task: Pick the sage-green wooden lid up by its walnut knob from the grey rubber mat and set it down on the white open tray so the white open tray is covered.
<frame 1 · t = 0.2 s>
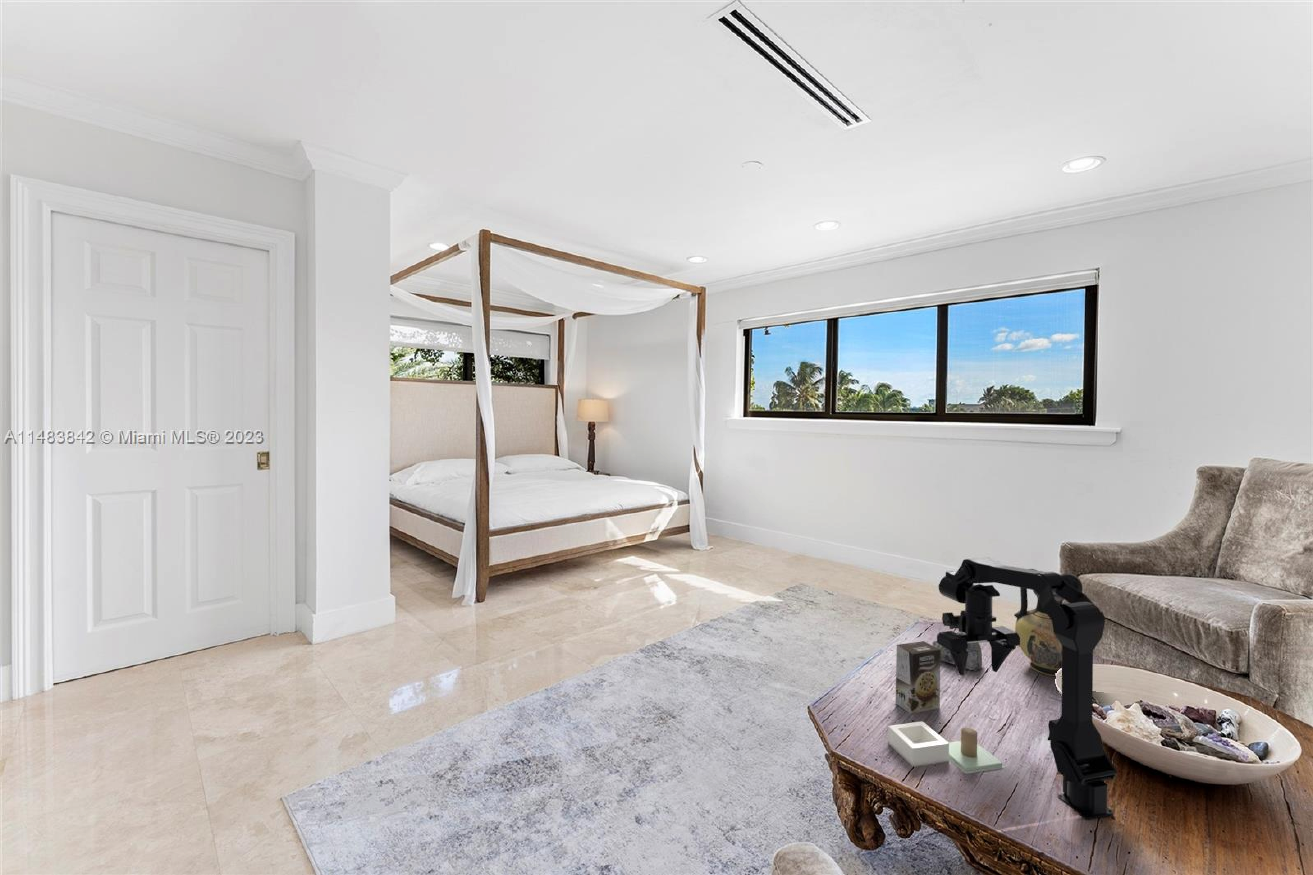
hand: (977, 673, 137), 14 cm above the table, fingers open, 9 cm apart
mat: (968, 758, 126), on the table
lid: (968, 756, 126), resting on mat
white open tray: (917, 753, 129), on the table
coffee box: (917, 707, 149), on the table
amphora: (1048, 670, 168), on the table
mineral rock: (957, 663, 174), on the table
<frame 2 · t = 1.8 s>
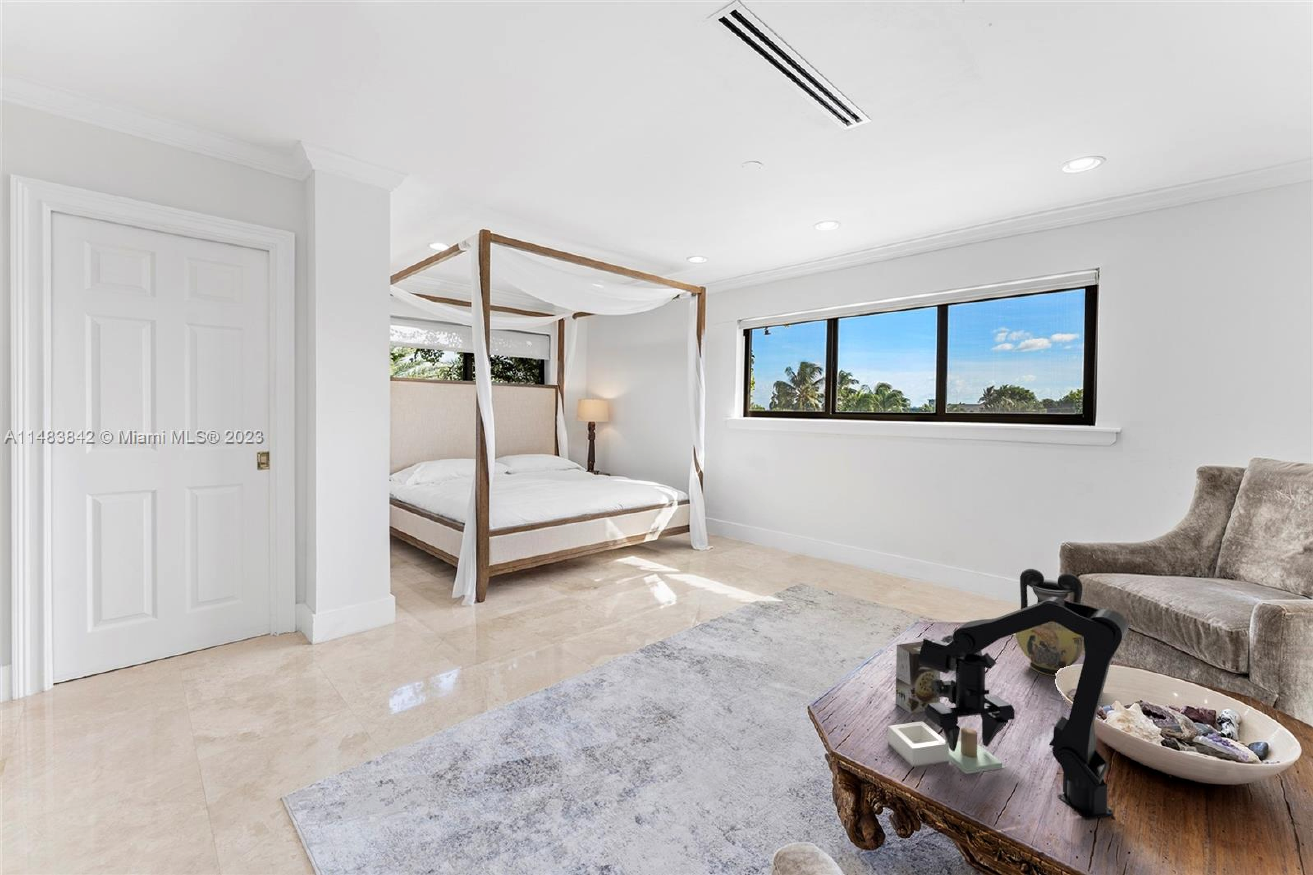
hand: (968, 748, 126), 2 cm above the table, fingers open, 8 cm apart
nothing on the table moved.
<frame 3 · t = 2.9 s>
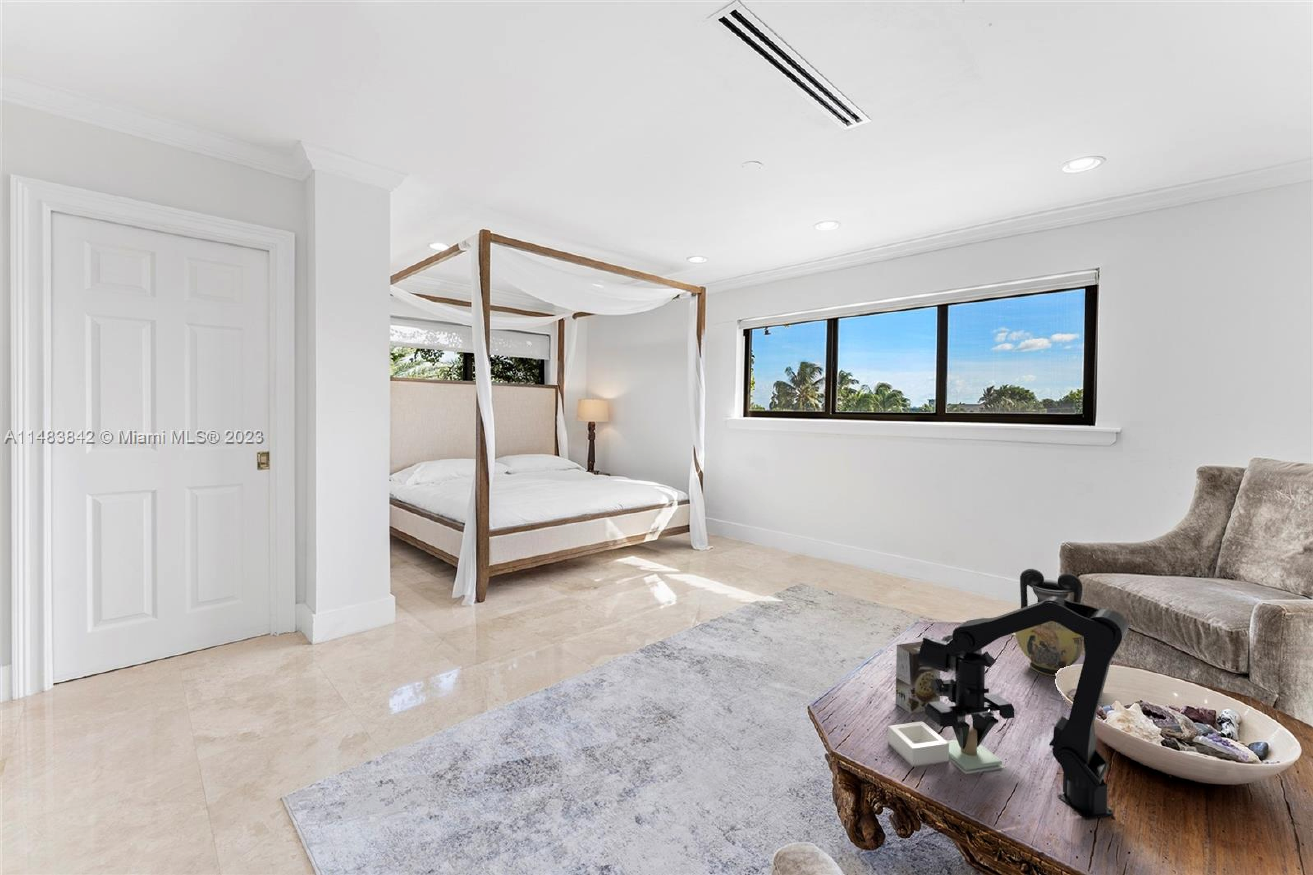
hand: (968, 746, 126), 3 cm above the table, fingers closed on lid, 3 cm apart
lid: (968, 754, 126), point 1 cm above the table, touching gripper
everything else where it was.
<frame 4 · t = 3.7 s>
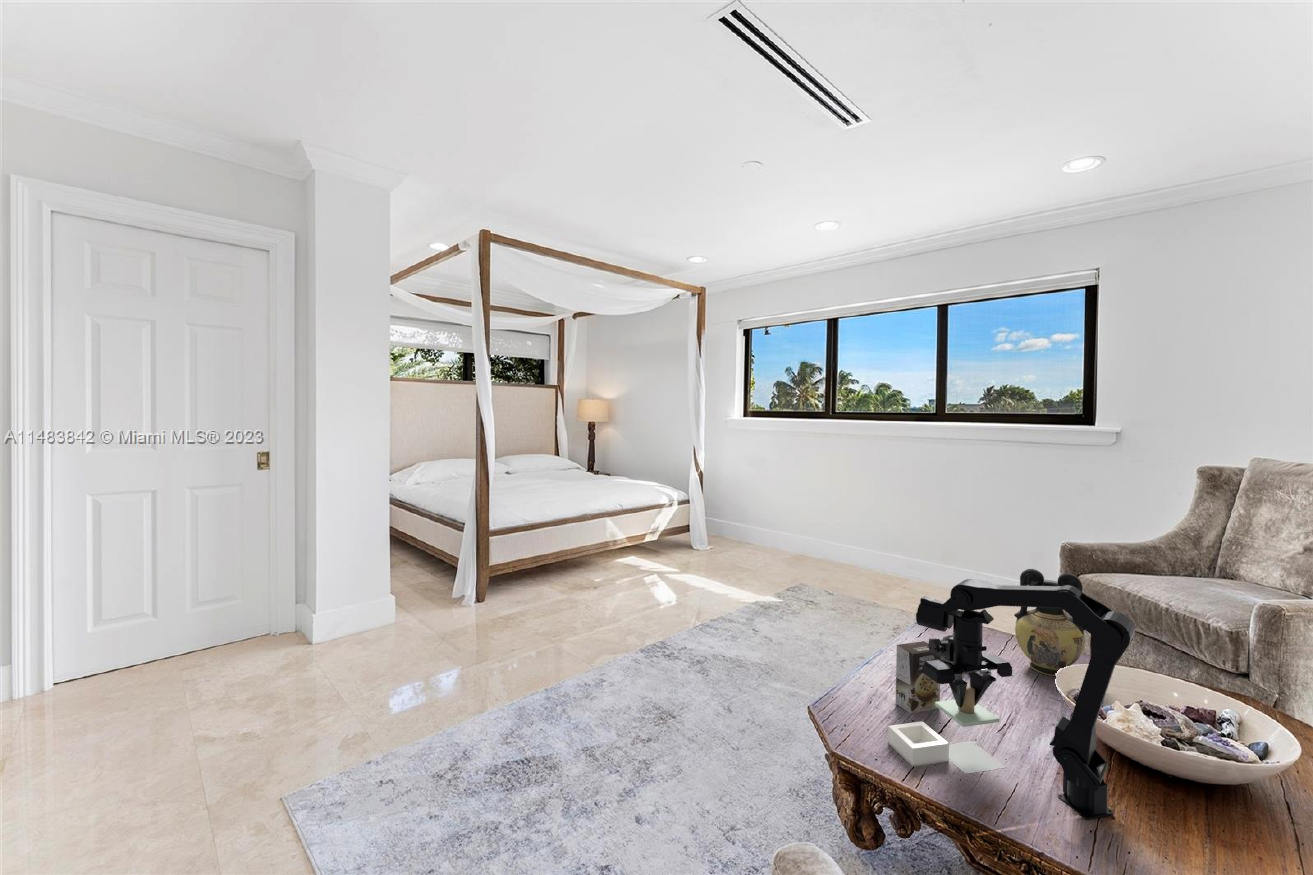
hand: (966, 705, 126), 12 cm above the table, fingers closed on lid, 3 cm apart
lid: (966, 713, 126), point 10 cm above the table, touching gripper
everything else where it was.
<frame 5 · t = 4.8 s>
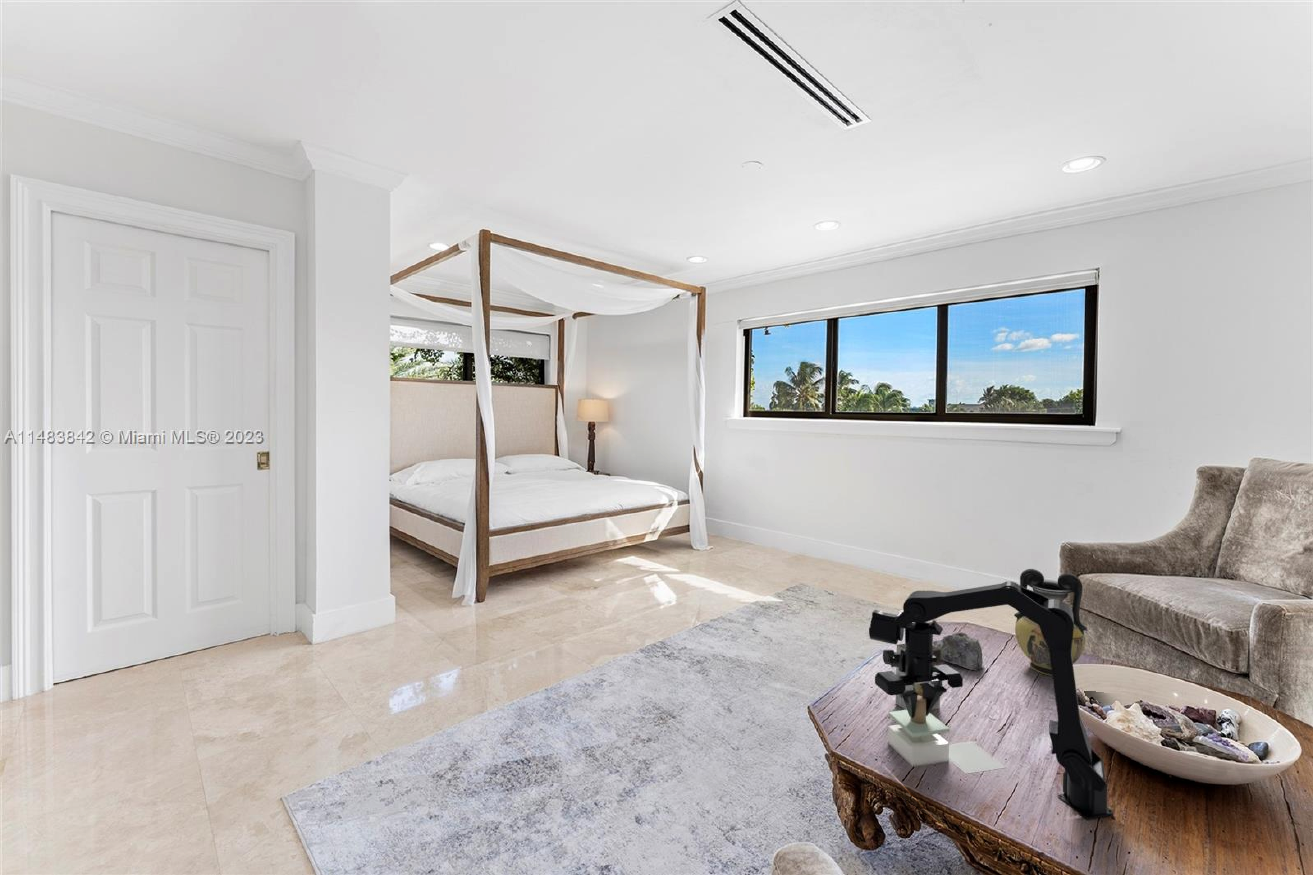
hand: (918, 716, 128), 9 cm above the table, fingers closed on lid, 3 cm apart
lid: (918, 723, 128), point 7 cm above the table, touching gripper
everything else where it was.
when the fingers open (7 cm above the table, at t = 5.3 s): lid stays where it is, resting on white open tray.
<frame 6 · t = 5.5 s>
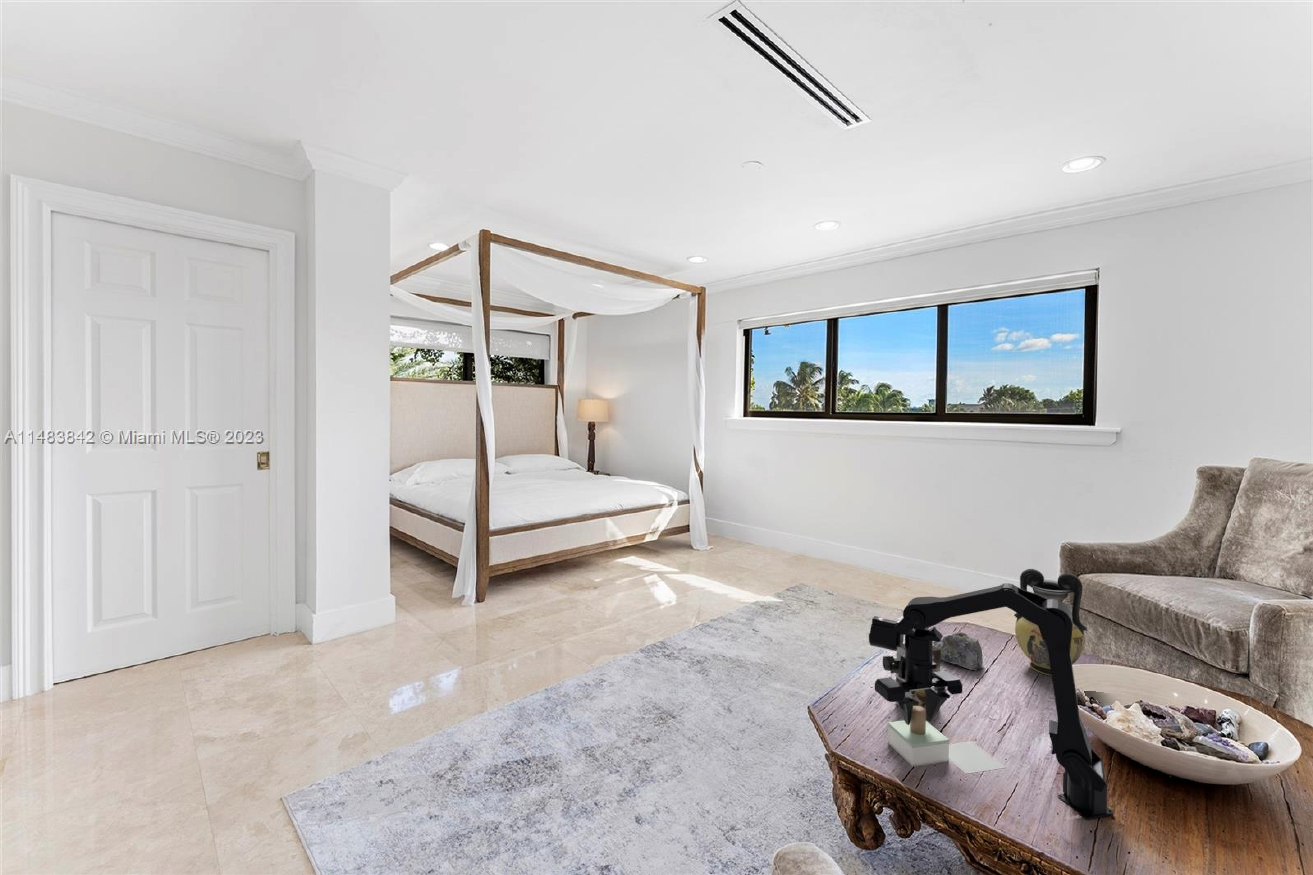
hand: (918, 722, 128), 7 cm above the table, fingers open, 5 cm apart
lid: (917, 734, 128), point 4 cm above the table, touching white open tray
everything else where it was.
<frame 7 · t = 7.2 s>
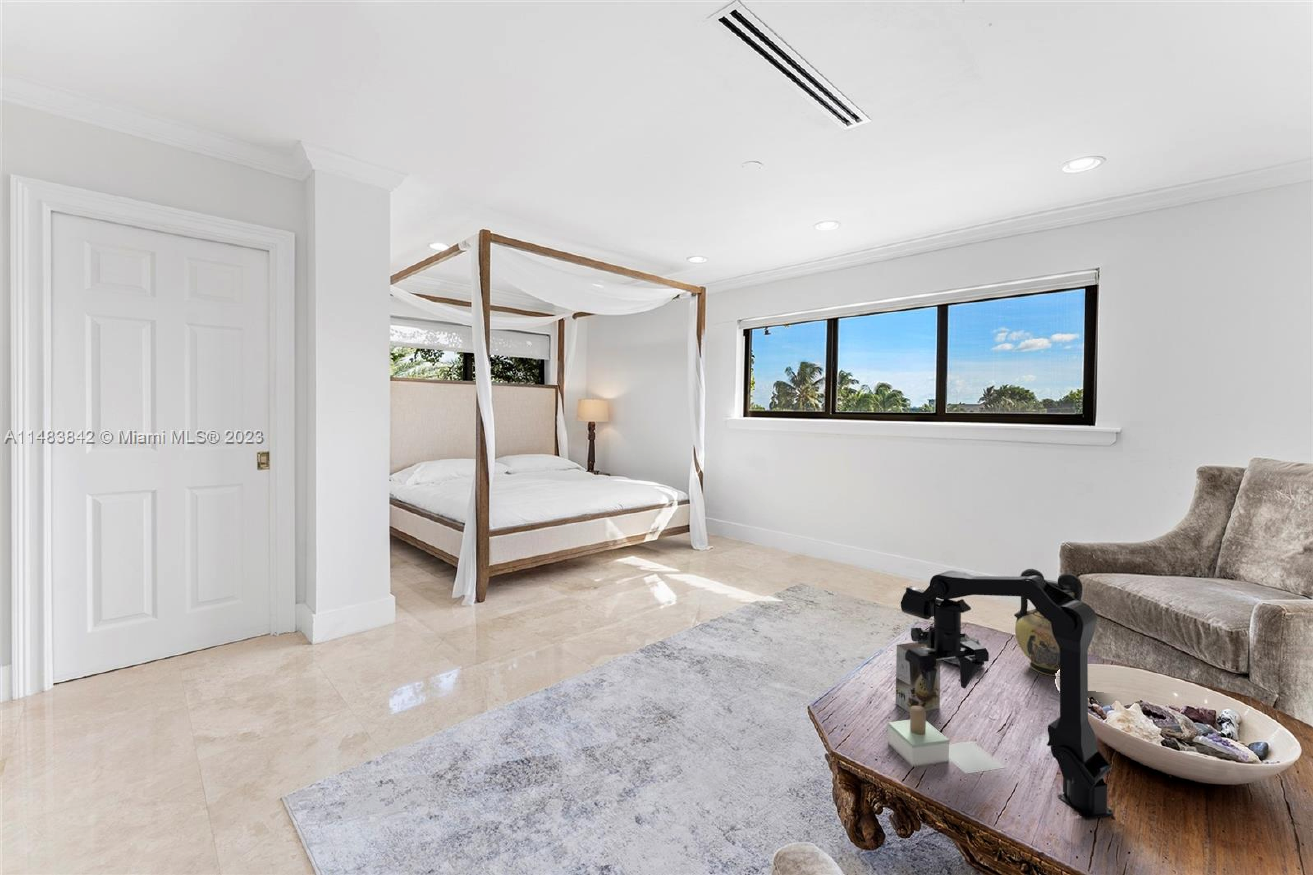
hand: (946, 690, 133), 12 cm above the table, fingers open, 9 cm apart
nothing on the table moved.
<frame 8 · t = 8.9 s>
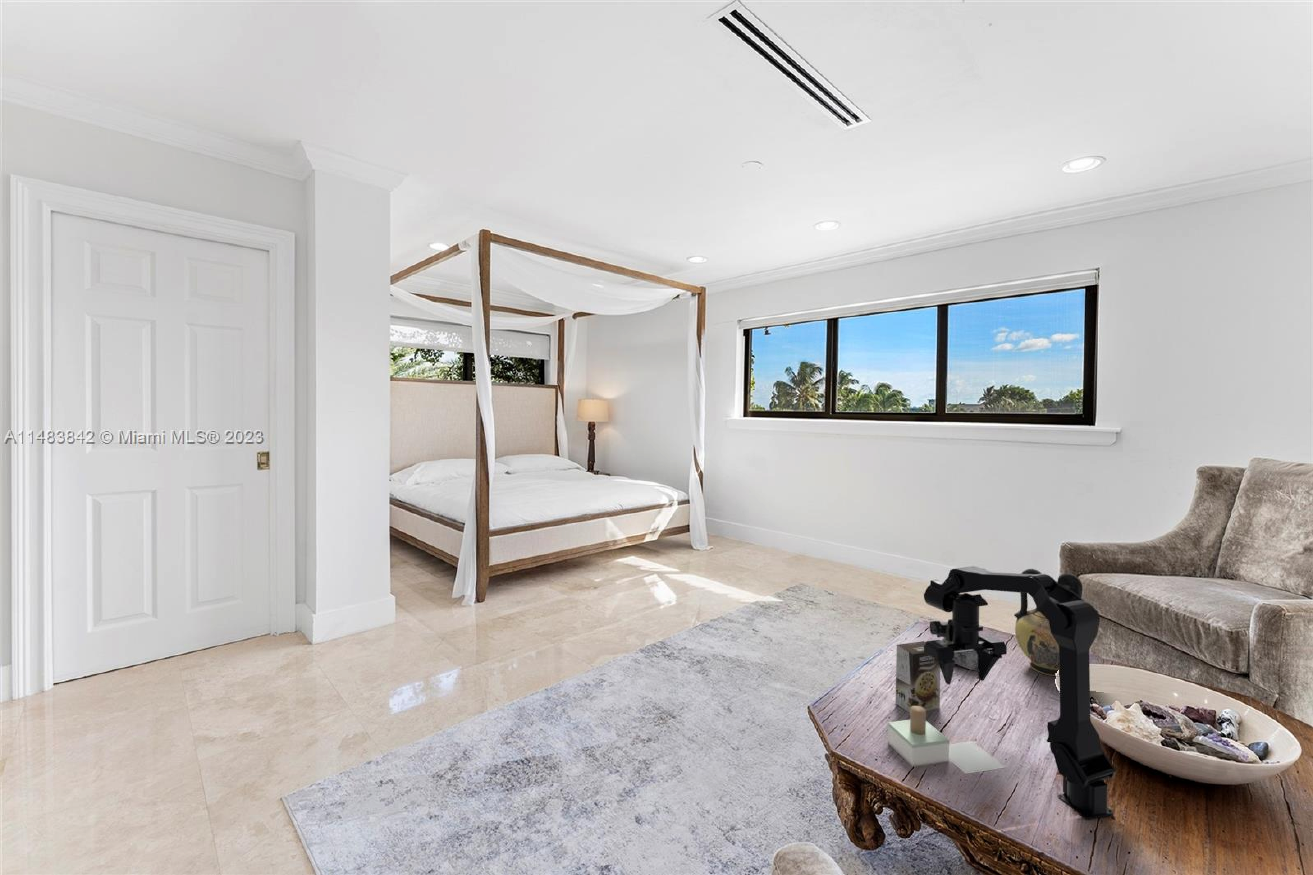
hand: (964, 682, 137), 12 cm above the table, fingers open, 9 cm apart
nothing on the table moved.
at the end: lid 0.0 cm off-centre on the white open tray, point 4.5 cm above the white open tray's base; lid tilted 0°; the gripper is holding nothing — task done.
